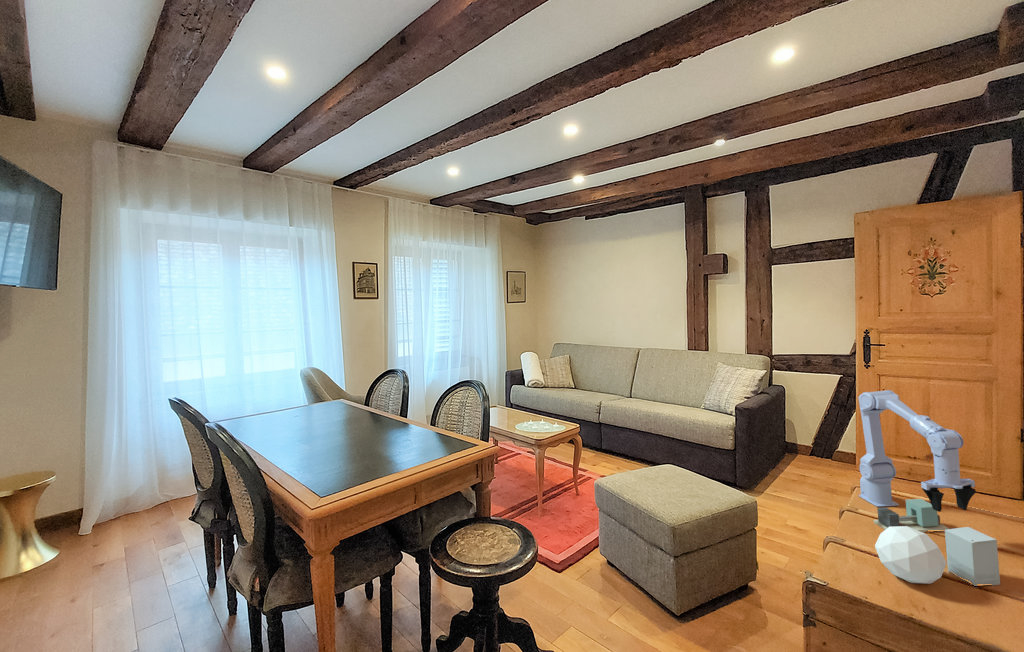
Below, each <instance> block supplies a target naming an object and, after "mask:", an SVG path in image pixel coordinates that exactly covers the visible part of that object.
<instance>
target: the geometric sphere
mask: <svg viewBox="0 0 1024 652" xmlns="http://www.w3.org/2000/svg"><path fill="white" fill-rule="evenodd" d="M874 548H875V551H876V553H877V555H878V558H879V560H880V562H881V564H882V565H883V566H884V567H885V568H886V569H887V570H888V572H890V573H891V574H892V575H893V576H896V577H898V578H900V579H902V580H905V581H906V582H908V583H910V584H927V585H928V584H929V585H930V584H933V583H935V582H937V580H939V579H940V578H942V576H943V573H944V571H945V568H946V566H947V565H948V564H947V560H946V559H945V557H944V555H943V553H942V551H941V549H940V547H939V545H938V544H937V543H936V542H935V541H934V540H933V539H932V538H931V537H930V536H929V535H928V534H927V533H922V532H920V531H918V530H915V529H913V528H910V527H908V526H895V527H888V528H887V529H886V530H885V529H883V531H882V532H880V534H879V536H878V538H877V540H876V542H875V544H874Z"/></svg>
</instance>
